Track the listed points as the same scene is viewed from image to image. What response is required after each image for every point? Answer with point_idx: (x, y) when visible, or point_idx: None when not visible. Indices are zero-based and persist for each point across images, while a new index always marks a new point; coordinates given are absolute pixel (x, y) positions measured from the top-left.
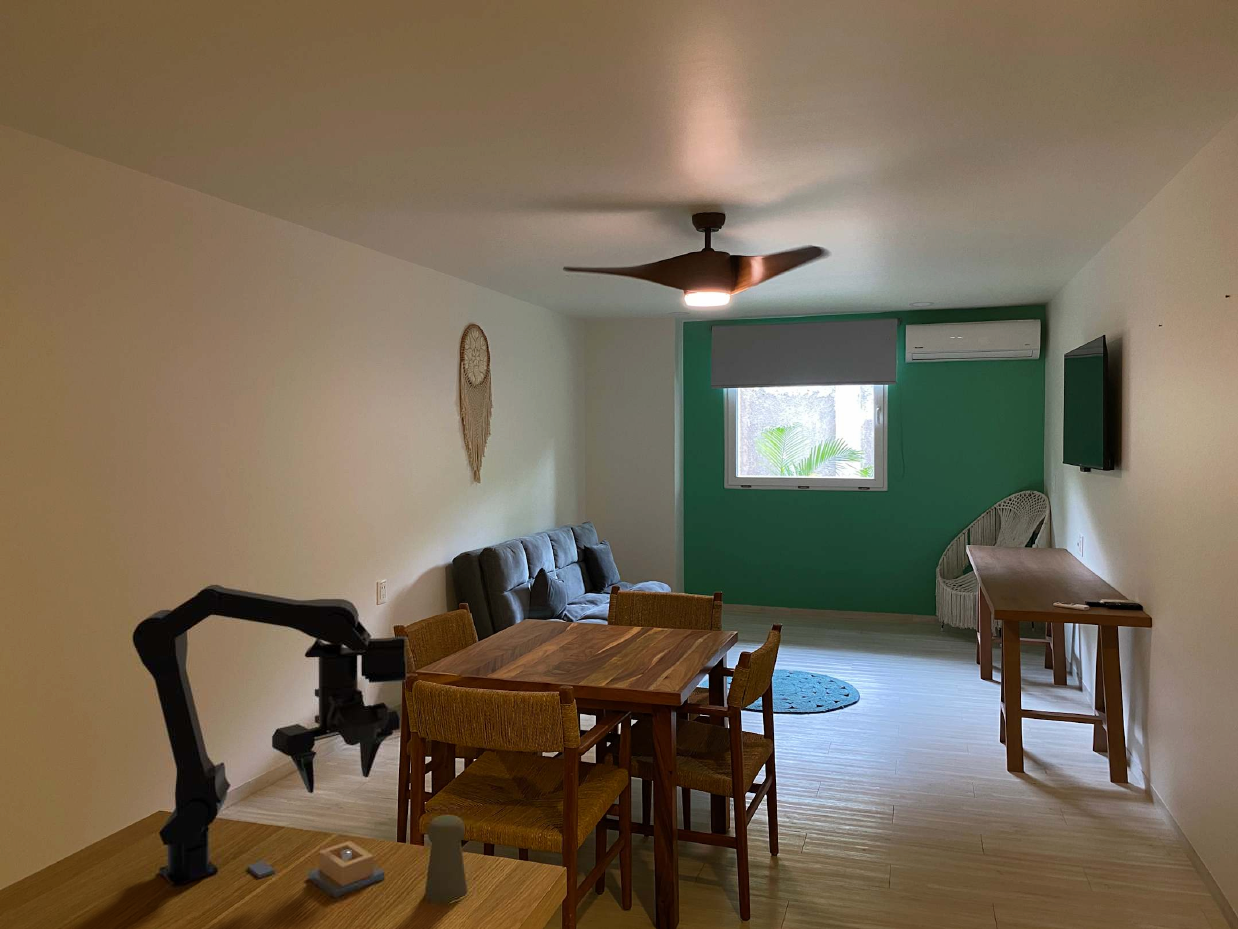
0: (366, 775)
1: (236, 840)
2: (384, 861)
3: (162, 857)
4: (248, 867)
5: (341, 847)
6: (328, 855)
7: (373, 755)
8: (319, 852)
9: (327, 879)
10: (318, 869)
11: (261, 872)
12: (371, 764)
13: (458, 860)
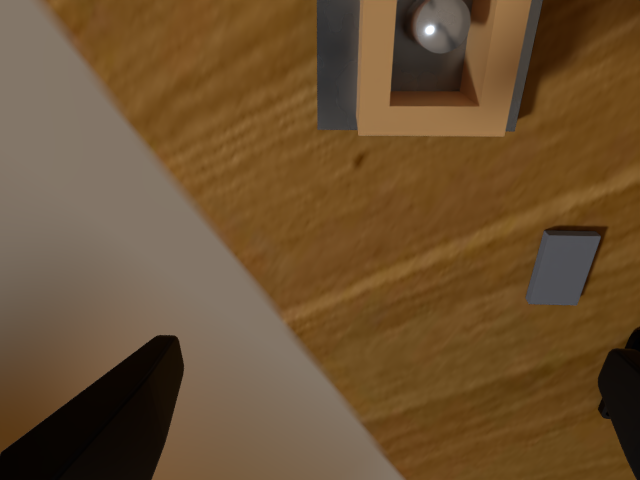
0: (170, 341)
1: (478, 435)
2: (244, 48)
3: None
4: (576, 299)
5: (415, 105)
6: (508, 65)
7: (14, 467)
8: (503, 131)
9: None
10: None
11: (585, 245)
12: (90, 394)
13: None
